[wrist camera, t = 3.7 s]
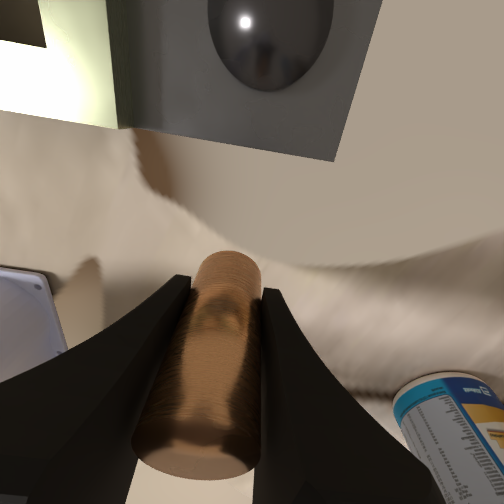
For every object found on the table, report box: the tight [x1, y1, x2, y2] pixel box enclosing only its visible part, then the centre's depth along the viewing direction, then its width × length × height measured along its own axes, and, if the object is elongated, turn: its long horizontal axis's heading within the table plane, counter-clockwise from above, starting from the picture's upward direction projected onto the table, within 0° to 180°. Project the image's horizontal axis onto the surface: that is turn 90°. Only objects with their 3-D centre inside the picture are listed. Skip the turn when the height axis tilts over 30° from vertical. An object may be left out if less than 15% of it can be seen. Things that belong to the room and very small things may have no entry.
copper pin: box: [131, 251, 261, 480], centre depth 9 cm, size 3×3×7 cm
